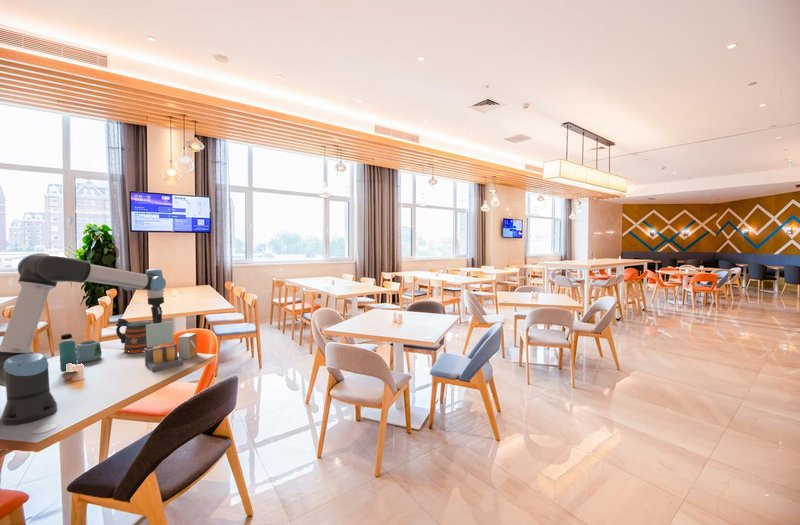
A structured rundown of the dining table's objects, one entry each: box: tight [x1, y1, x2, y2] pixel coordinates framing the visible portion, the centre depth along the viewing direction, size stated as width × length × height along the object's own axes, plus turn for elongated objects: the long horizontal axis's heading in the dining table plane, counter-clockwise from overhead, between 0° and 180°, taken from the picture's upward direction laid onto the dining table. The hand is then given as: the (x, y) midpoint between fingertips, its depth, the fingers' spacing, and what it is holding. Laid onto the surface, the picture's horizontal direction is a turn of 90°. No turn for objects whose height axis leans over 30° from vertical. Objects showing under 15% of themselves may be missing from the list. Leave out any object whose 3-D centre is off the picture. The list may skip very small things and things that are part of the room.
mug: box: [76, 340, 103, 363], centre depth 201 cm, size 15×11×10 cm
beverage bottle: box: [58, 333, 78, 373], centre depth 183 cm, size 6×7×20 cm
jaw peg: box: [166, 347, 175, 362], centre depth 197 cm, size 4×4×9 cm
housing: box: [143, 341, 184, 372], centre depth 195 cm, size 15×14×10 cm
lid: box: [146, 320, 175, 348], centre depth 199 cm, size 12×12×1 cm
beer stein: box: [115, 318, 155, 354], centre depth 220 cm, size 19×15×20 cm
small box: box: [177, 332, 198, 360], centre depth 208 cm, size 8×6×13 cm
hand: (158, 338), depth 202 cm, fingers closed
